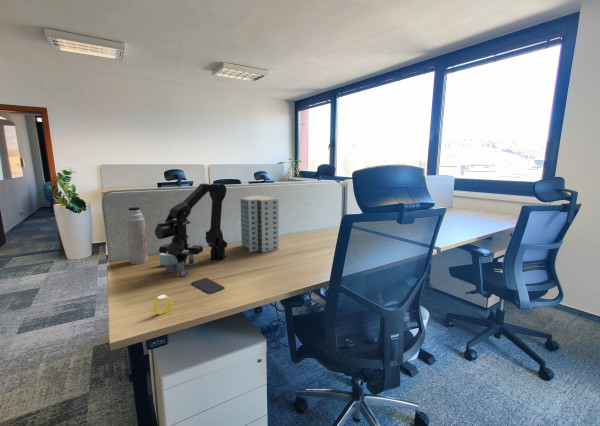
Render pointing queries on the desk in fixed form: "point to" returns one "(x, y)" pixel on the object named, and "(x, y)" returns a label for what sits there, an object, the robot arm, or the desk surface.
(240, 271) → the desk surface
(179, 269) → the grey block
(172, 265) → the dark gray cube
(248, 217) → the building model
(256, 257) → the desk surface
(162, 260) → the light blue bar
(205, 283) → the phone
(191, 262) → the post
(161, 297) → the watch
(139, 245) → the thermos bottle
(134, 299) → the desk surface
